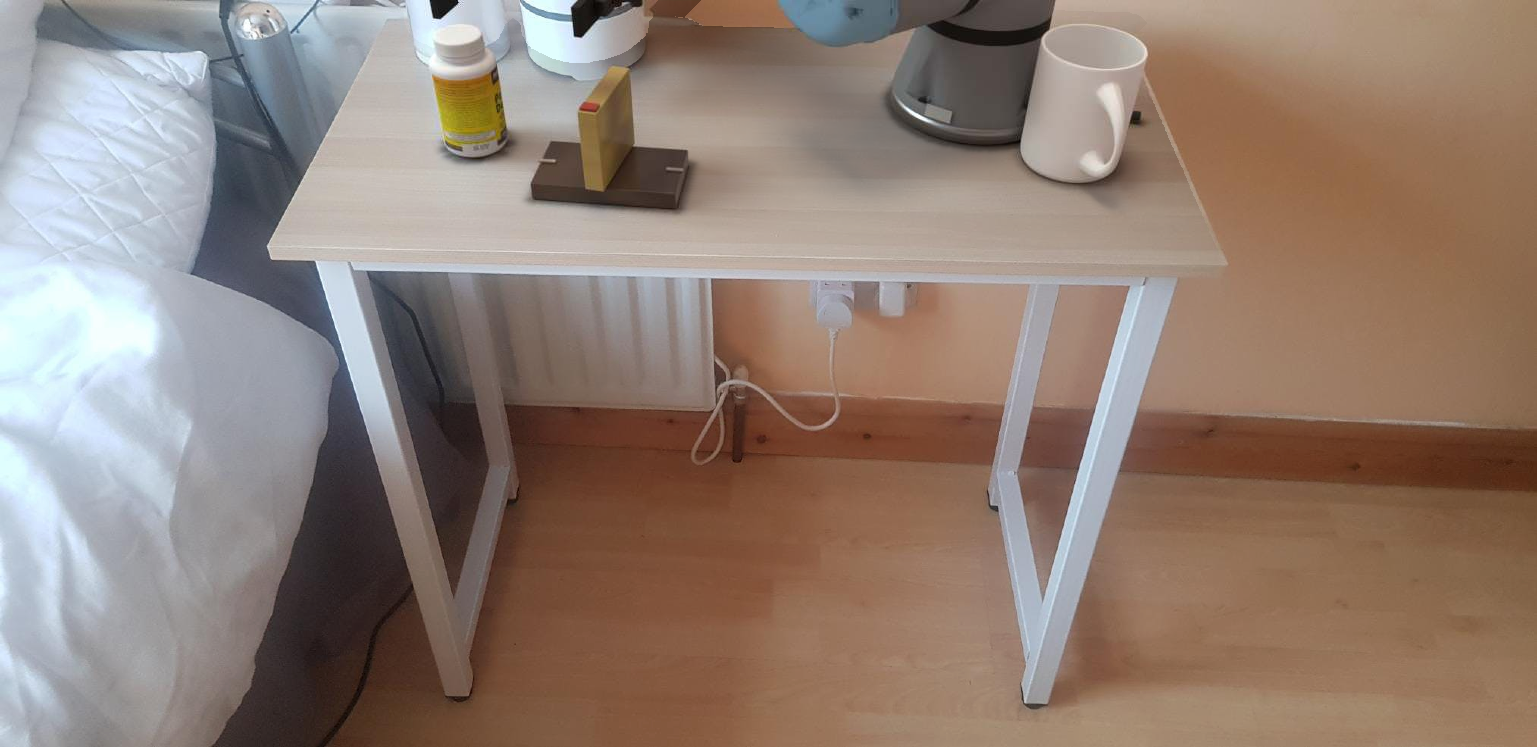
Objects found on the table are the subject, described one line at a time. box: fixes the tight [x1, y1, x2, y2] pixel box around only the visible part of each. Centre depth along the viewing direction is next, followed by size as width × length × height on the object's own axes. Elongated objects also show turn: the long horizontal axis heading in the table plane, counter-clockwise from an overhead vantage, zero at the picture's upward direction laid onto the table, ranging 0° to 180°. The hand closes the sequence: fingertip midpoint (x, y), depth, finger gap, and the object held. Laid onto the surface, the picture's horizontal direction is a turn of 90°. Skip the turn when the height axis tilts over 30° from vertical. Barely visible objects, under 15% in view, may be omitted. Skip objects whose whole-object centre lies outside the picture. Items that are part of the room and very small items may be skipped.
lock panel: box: [530, 140, 689, 210], centre depth 91 cm, size 12×7×2 cm, turn 85°
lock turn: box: [576, 65, 636, 191], centre depth 88 cm, size 8×2×7 cm, turn 167°
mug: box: [1020, 23, 1149, 184], centre depth 91 cm, size 9×12×11 cm
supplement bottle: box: [428, 23, 508, 158], centre depth 92 cm, size 6×6×10 cm
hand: (503, 13), depth 96 cm, fingers open, 13 cm apart
